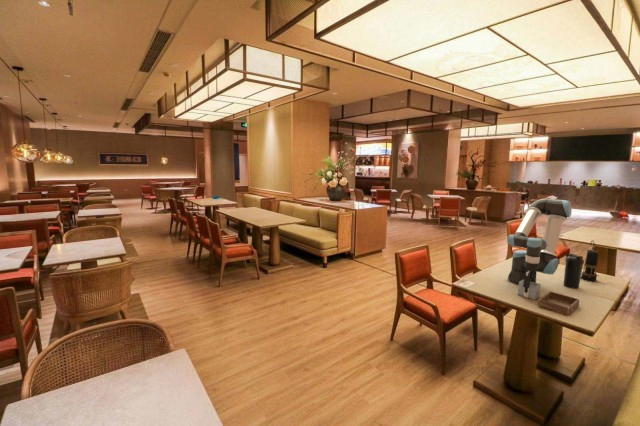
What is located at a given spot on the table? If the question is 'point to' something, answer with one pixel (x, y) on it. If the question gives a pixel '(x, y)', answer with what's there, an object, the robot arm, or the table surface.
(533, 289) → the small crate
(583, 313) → the table surface
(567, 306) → the walnut crate
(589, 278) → the lantern
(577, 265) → the water bottle
